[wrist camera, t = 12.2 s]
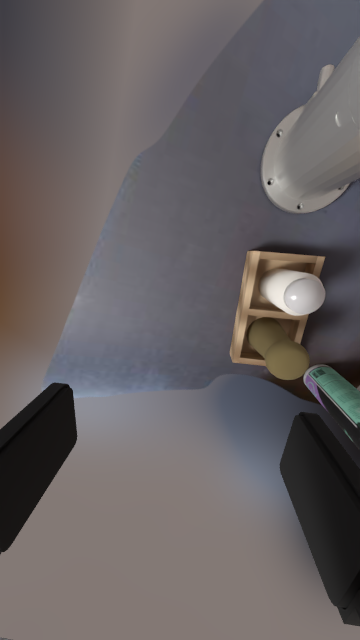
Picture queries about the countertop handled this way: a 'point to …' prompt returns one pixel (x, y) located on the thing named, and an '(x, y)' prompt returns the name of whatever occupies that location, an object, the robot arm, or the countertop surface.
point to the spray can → (336, 398)
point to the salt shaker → (292, 291)
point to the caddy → (259, 307)
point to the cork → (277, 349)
